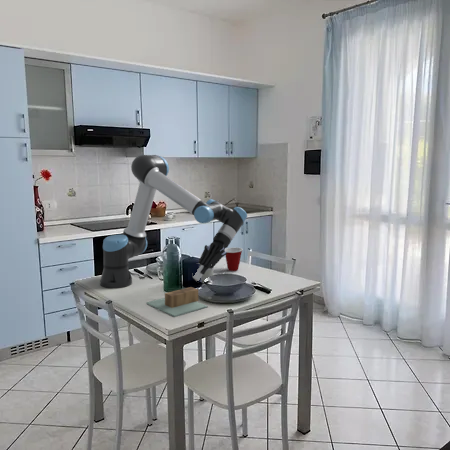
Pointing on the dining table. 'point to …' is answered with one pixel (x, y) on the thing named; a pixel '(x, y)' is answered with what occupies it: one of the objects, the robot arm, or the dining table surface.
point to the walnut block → (181, 297)
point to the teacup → (207, 274)
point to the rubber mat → (176, 310)
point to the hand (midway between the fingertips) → (195, 279)
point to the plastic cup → (233, 258)
